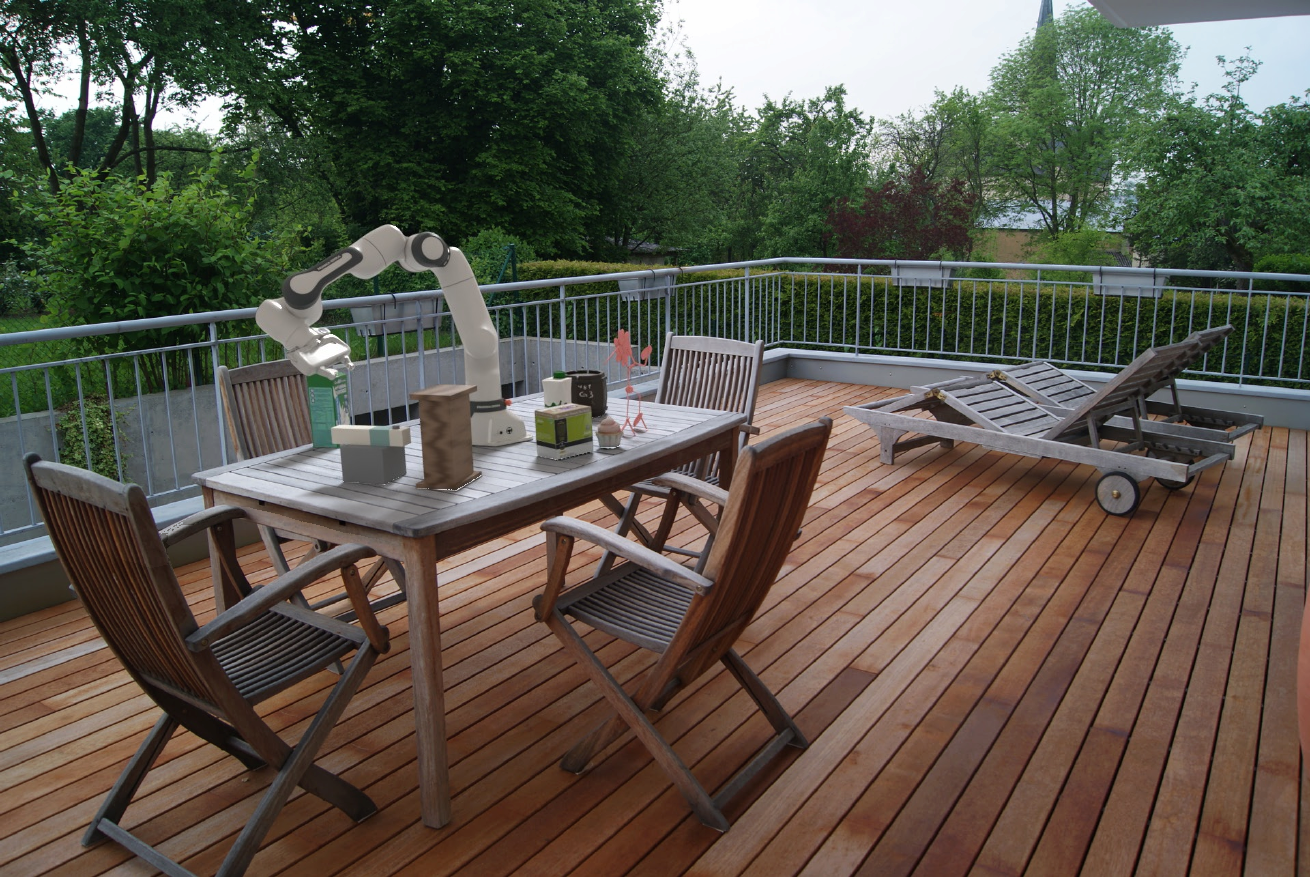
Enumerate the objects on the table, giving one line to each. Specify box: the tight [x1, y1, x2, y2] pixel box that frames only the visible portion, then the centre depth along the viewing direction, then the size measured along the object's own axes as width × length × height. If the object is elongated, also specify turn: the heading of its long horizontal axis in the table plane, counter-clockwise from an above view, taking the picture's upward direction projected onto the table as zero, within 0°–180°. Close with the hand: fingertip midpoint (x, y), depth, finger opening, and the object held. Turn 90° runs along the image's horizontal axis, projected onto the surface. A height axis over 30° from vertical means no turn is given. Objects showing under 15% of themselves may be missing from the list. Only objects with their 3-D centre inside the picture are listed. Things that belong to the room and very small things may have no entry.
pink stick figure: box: [603, 328, 656, 435], centre depth 320 cm, size 15×26×35 cm, turn 154°
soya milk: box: [541, 370, 572, 409], centre depth 325 cm, size 9×9×20 cm
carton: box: [331, 424, 412, 447], centre depth 265 cm, size 22×5×5 cm, turn 76°
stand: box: [408, 383, 483, 490], centre depth 259 cm, size 12×16×26 cm
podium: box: [339, 444, 407, 485], centre depth 267 cm, size 13×12×10 cm
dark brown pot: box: [564, 369, 609, 418], centre depth 353 cm, size 18×18×16 cm
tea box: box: [534, 403, 595, 461], centre depth 291 cm, size 15×10×15 cm
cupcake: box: [594, 415, 625, 448], centre depth 300 cm, size 9×9×10 cm
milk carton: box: [305, 367, 352, 449], centre depth 308 cm, size 9×9×25 cm
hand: (344, 373), depth 268 cm, fingers open, 8 cm apart
